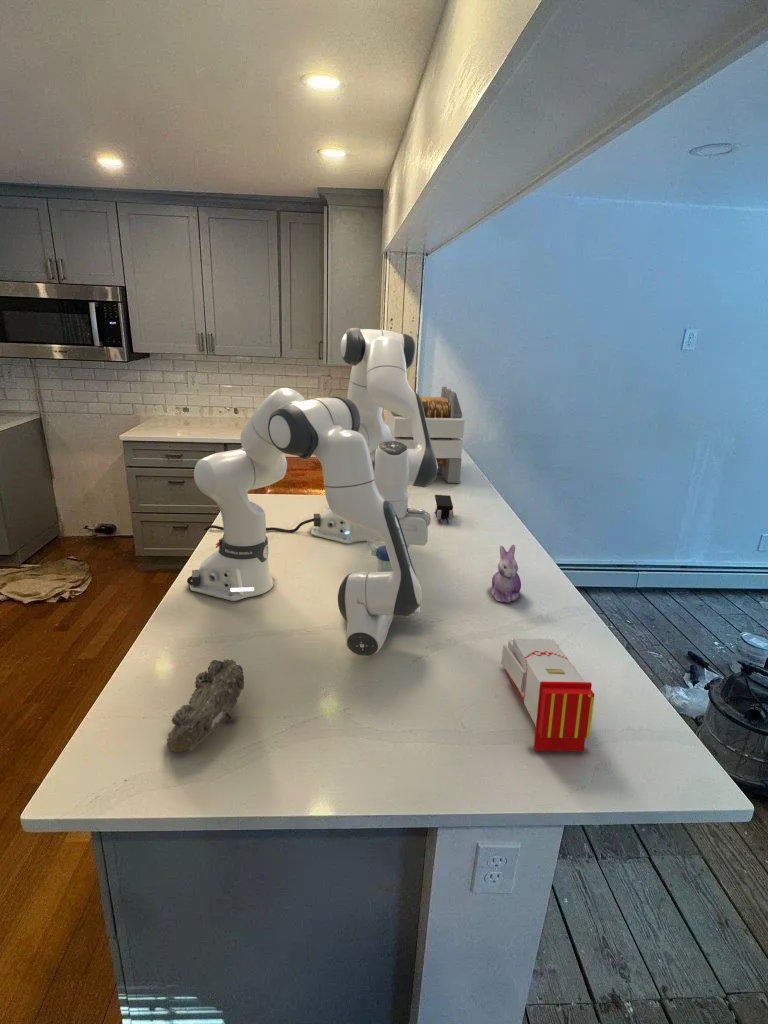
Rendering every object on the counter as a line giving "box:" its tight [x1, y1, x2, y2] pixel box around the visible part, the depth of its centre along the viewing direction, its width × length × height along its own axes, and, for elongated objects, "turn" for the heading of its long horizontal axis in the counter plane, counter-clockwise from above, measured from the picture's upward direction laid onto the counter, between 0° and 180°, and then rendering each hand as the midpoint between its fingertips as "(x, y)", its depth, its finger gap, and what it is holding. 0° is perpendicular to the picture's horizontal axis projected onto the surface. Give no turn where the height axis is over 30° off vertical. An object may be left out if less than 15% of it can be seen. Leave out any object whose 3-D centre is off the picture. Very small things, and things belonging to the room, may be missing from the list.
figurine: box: [490, 544, 522, 603], centre depth 157 cm, size 9×10×15 cm
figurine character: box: [433, 494, 454, 524], centre depth 215 cm, size 7×8×15 cm
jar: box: [377, 558, 393, 572], centre depth 150 cm, size 5×5×15 cm
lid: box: [376, 545, 390, 561], centre depth 147 cm, size 6×6×2 cm
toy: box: [500, 637, 595, 752], centre depth 114 cm, size 12×13×30 cm
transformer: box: [385, 386, 465, 484], centre depth 268 cm, size 34×33×41 cm
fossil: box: [166, 658, 245, 754], centre depth 106 cm, size 22×10×15 cm
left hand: (386, 585), depth 151 cm, fingers closed on jar, 5 cm apart
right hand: (387, 556), depth 148 cm, fingers closed on lid, 6 cm apart
